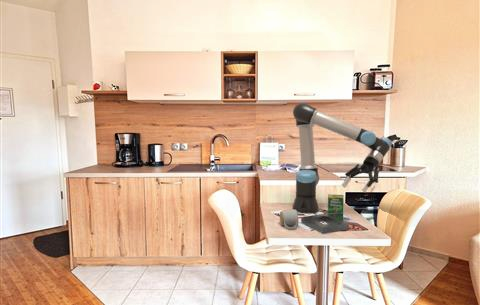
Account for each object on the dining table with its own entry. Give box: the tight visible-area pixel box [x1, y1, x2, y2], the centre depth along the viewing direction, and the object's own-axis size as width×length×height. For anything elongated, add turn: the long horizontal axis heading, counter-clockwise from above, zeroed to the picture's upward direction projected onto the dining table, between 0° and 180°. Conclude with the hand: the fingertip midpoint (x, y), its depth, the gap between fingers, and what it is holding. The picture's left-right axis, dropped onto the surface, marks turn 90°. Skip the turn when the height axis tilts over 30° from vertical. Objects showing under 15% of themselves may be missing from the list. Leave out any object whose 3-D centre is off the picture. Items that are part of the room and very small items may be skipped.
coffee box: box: [327, 193, 344, 220], centre depth 137 cm, size 8×3×13 cm, turn 66°
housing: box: [300, 212, 350, 235], centre depth 127 cm, size 16×16×3 cm
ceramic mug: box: [279, 209, 299, 231], centre depth 126 cm, size 11×8×8 cm
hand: (352, 188), depth 141 cm, fingers open, 13 cm apart
